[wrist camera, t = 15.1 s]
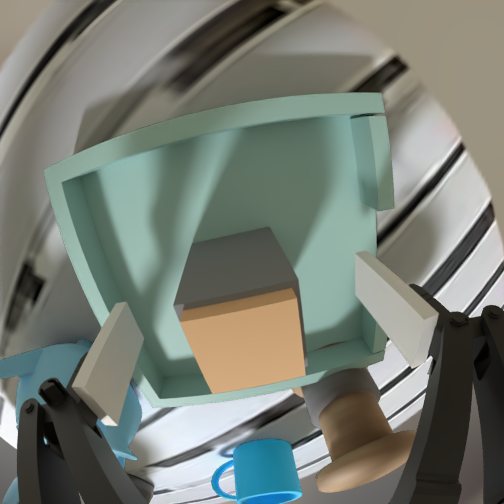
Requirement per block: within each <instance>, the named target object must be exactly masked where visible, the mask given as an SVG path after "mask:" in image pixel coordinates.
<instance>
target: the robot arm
mask: <svg viewBox="0 0 504 504" xmlns="http://www.w3.org/2000/svg"><path fill="white" fill-rule="evenodd" d="M355 295H356V296H357V297H358V299H359V300H360V301H361V302H362V304H363V305H364V306H365V307H366V309H367V310H368V311H369V312H370V314H371V315H372V316H373V317H374V319H375V320H376V321H377V323H378V324H379V325H380V326H381V328H382V329H383V330H384V332H385V333H386V334H387V336H388V337H389V338H390V339H391V341H392V342H393V343H394V345H395V346H396V347H397V349H398V350H399V351H400V353H401V354H402V356H403V357H404V358H405V360H406V361H407V362H408V364H409V365H410V366H411V368H415V367H417V366H419V365H421V364H423V363H425V362H426V359H427V356H428V353H429V354H430V355H431V356H432V357H433V359H432V362H431V365H430V368H429V371H428V373H427V374H429V380H428V385H427V390H426V395H425V400H424V405H423V409H422V413H421V417H420V421H419V425H418V429H417V432H416V435H415V439H414V442H413V445H412V448H411V451H410V454H409V457H408V460H407V463H406V466H405V468H404V471H403V474H402V476H401V479H400V481H399V483H398V486H397V488H396V491H395V493H394V495H393V497H392V499H391V501H390V502H389V504H458V501H459V498H460V494H461V490H462V489H461V484H460V483H459V481H458V478H459V473H460V470H461V465H462V461H463V457H464V452H465V446H466V440H467V435H468V428H469V421H470V412H471V401H472V385H473V384H474V389H475V394H476V399H477V405H478V411H479V418H480V424H481V425H480V426H481V434H482V445H483V463H484V489H483V490H484V491H483V494H484V495H483V500H484V501H483V502H484V504H504V311H503V310H502V309H501V308H500V307H498V306H495V305H488V306H486V307H484V308H483V311H482V314H481V316H478V317H473V318H469V317H468V316H467V315H465V314H464V313H461V312H449V311H448V310H447V309H446V308H445V307H444V306H443V305H442V304H441V303H439V302H438V301H437V300H436V299H435V298H433V296H431V295H430V294H428V292H427V291H426V290H424V289H423V288H422V287H420V286H418V285H415V284H410V285H407V284H406V283H405V282H404V281H403V280H401V279H400V278H399V277H398V276H397V275H396V274H394V273H393V272H392V271H391V270H390V269H389V268H387V267H386V266H385V265H384V264H383V263H381V262H380V261H379V260H378V259H377V258H375V257H374V256H373V255H372V254H370V253H369V252H368V251H367V250H365V251H361V252H357V253H355ZM143 341H144V337H143V335H142V333H141V331H140V329H139V327H138V325H137V323H136V321H135V319H134V316H133V314H132V312H131V310H130V308H129V306H128V303H127V301H126V302H121V303H116V304H115V306H114V307H113V309H112V311H111V312H110V314H109V316H108V318H107V319H106V321H105V323H104V325H103V326H102V328H101V330H100V332H99V334H98V335H97V337H96V339H95V341H94V343H93V345H92V347H91V349H90V350H89V352H86V353H85V354H84V355H83V356H82V358H81V359H80V361H79V363H78V365H77V367H76V368H75V370H74V372H73V374H72V376H71V378H70V380H69V382H68V384H67V387H66V389H65V387H64V386H63V385H62V384H61V382H60V381H59V380H58V379H57V378H55V377H54V378H49V379H47V380H45V381H44V382H43V383H42V384H41V385H40V387H39V389H38V394H39V395H40V396H41V398H42V399H43V400H44V401H45V402H46V403H47V404H42V405H41V404H40V403H39V402H38V401H37V400H36V399H35V398H30V399H28V400H26V401H25V402H24V403H23V405H22V406H21V409H20V416H19V426H18V441H17V477H16V478H15V480H14V481H13V482H12V484H11V486H10V487H9V489H8V491H7V493H6V495H5V497H4V500H3V502H2V504H81V501H80V496H79V493H80V495H81V497H82V499H83V501H84V503H85V504H149V503H150V501H151V499H152V497H153V490H154V488H153V486H152V485H150V484H149V483H147V482H145V481H143V480H141V479H139V478H137V477H134V476H132V475H129V474H127V473H126V472H125V470H124V469H123V467H122V465H121V464H120V462H119V461H118V459H117V457H116V456H115V454H114V452H113V451H112V449H111V447H110V445H109V444H108V442H107V440H106V438H105V436H104V434H103V433H102V431H101V429H100V427H99V426H98V425H97V424H96V423H97V419H98V418H99V419H100V421H101V422H102V423H103V424H104V425H111V426H118V423H119V419H120V416H121V412H122V408H123V405H124V401H125V398H126V394H127V391H128V388H129V384H130V381H131V378H132V374H133V371H134V368H135V365H136V362H137V359H138V356H139V353H140V350H141V347H142V344H143ZM44 438H45V439H46V440H47V444H45V441H44ZM78 491H79V492H78Z"/></svg>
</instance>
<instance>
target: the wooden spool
mask: <svg viewBox="0 0 504 504" xmlns="http://www.w3.org/2000/svg"><path fill="white" fill-rule="evenodd" d="M345 342H346V341H345ZM339 343H340V342H339ZM341 343H343V342H341ZM334 344H336V345H337V344H338V342H336V343H332V344H329V345H326V346H323V347H324V348H326V347H328V346H329V347H330V346H333V345H334ZM323 347H321V348H319V349H323ZM317 350H318V349H317ZM315 351H316V350H315ZM367 367H368V366H367ZM367 367H364V368H350V369H345V370H341V371H338V372H335V373H333V374H331V375H329V376H327V377H325V378H324V379H322V380H321V381H319V382H316V383H312V384H308V385H304V386H300V387H296V388H292V391H293V392H294V393H295V394H297V395H298V396H300V397H303V398H304V399H305V402H306V406H307V409H308V412H309V415H310V419H311V422H312V424H313V425H314V426H315V427H317V428H319V429H322V432H323V435H324V438H325V441H326V444H327V447H328V450H329V453H330V456H331V460H332V462H331V463H330V464H328V465H327V466H325V467H324V468H322V469H321V470H320V471H319V472H318V473H317V475H316V477H315V478H316V482H317V485H318V489H319V490H320V491H322V492H337V491H342V490H346V489H350V488H354V487H357V486H360V485H363V484H366V483H368V482H371V481H373V480H375V479H378V478H380V477H382V476H384V475H386V474H388V473H389V472H391V471H393V470H394V469H396V468H398V467H399V466H400V465H402V464H404V463H405V462H406V461H407V460H408V457H409V454H410V451H411V448H412V445H413V442H414V439H415V435H416V431H414V430H407V431H401V432H397V433H393V431H392V429H391V427H390V425H389V423H388V421H387V420H386V418H385V416H384V414H383V412H382V410H381V408H380V406H379V404H378V402H379V400H380V396H381V394H380V391H379V389H378V387H377V385H376V384H375V382H374V380H373V378H372V377H371V375H370V373H369V371H368V370H367Z"/></svg>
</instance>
